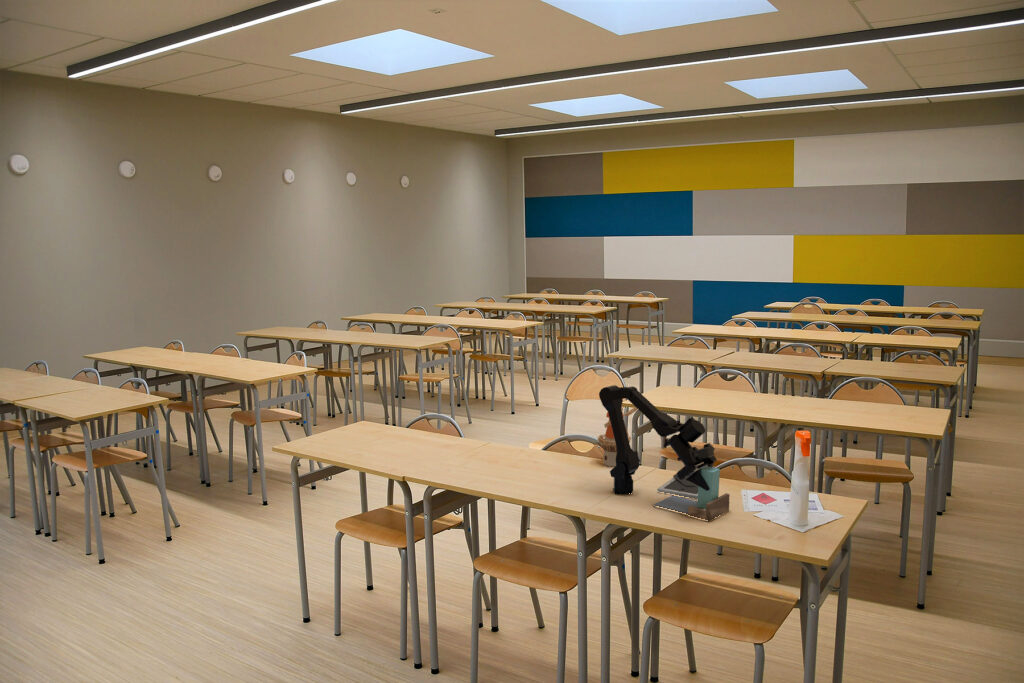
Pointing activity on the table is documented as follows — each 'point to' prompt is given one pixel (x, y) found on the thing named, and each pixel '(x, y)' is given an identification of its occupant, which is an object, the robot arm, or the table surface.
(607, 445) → the windmill
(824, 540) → the table surface
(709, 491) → the teal block
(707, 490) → the robot arm
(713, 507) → the walnut slot rack
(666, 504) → the slate pad
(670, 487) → the picture frame
